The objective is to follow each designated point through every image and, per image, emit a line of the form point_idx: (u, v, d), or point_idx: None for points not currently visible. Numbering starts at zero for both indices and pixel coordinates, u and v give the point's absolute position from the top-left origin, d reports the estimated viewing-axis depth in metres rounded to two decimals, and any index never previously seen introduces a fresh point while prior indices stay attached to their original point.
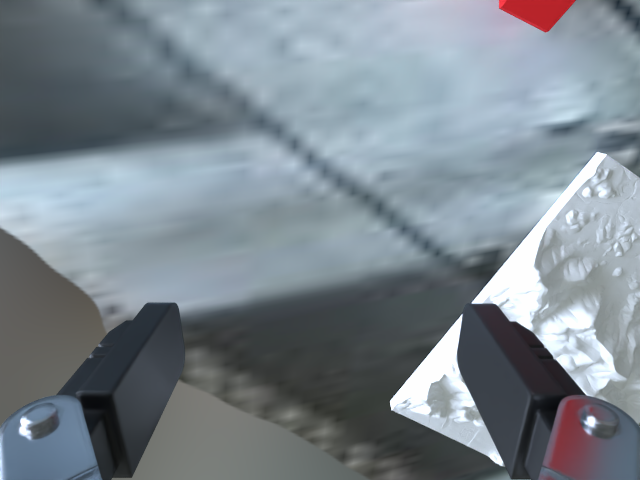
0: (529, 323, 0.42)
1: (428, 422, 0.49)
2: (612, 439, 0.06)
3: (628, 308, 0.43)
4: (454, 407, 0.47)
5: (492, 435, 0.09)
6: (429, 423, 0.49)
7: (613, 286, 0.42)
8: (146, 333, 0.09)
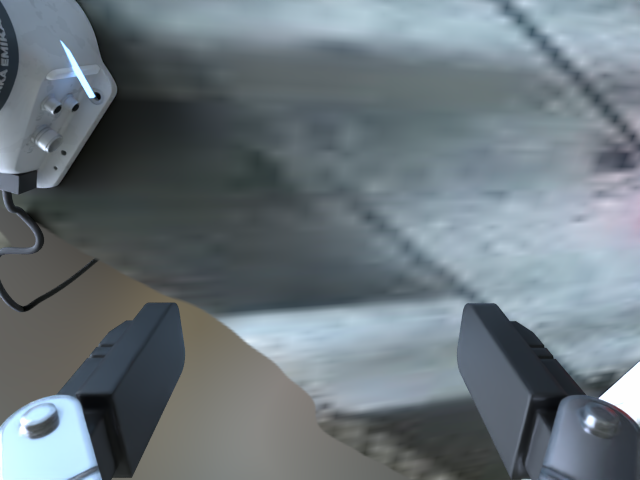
0: None
1: None
2: (612, 439, 0.06)
3: None
4: None
5: (492, 435, 0.09)
6: None
7: None
8: (146, 333, 0.09)
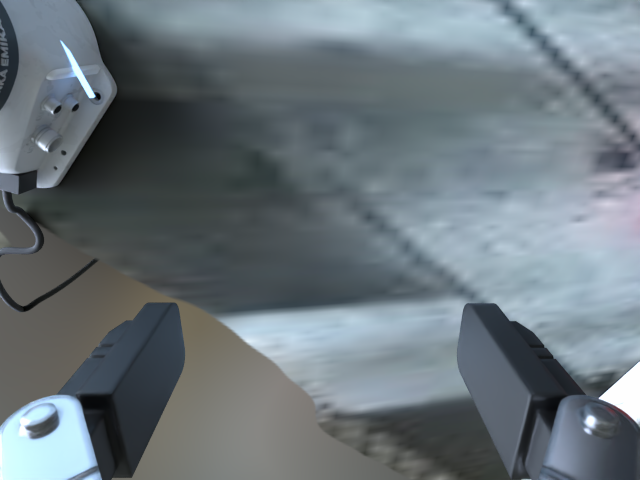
0: None
1: None
2: (612, 439, 0.06)
3: None
4: None
5: (492, 435, 0.09)
6: None
7: None
8: (146, 333, 0.09)
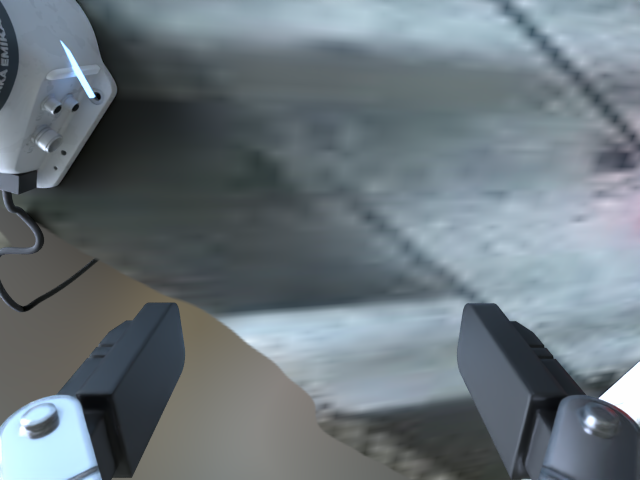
0: None
1: None
2: (612, 439, 0.06)
3: None
4: None
5: (492, 435, 0.09)
6: None
7: None
8: (146, 333, 0.09)
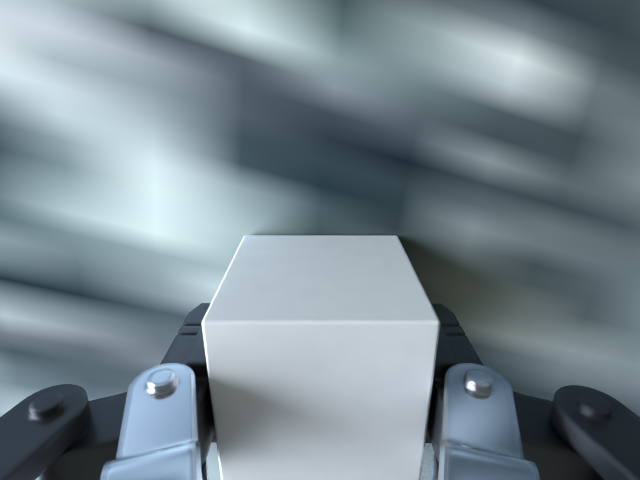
0: None
1: None
2: (483, 398, 0.07)
3: None
4: None
5: None
6: None
7: None
8: None
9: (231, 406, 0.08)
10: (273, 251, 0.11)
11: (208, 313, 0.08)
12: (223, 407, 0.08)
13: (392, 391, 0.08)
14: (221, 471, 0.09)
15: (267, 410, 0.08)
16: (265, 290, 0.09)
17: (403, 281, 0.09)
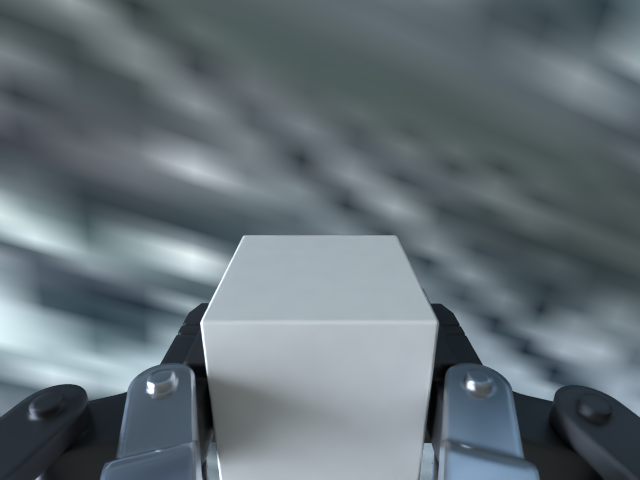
0: None
1: None
2: (483, 398, 0.07)
3: None
4: None
5: None
6: None
7: None
8: None
9: (231, 406, 0.08)
10: (273, 251, 0.11)
11: (207, 313, 0.08)
12: (222, 407, 0.08)
13: (391, 392, 0.08)
14: (220, 471, 0.09)
15: (266, 411, 0.08)
16: (264, 290, 0.09)
17: (402, 281, 0.09)
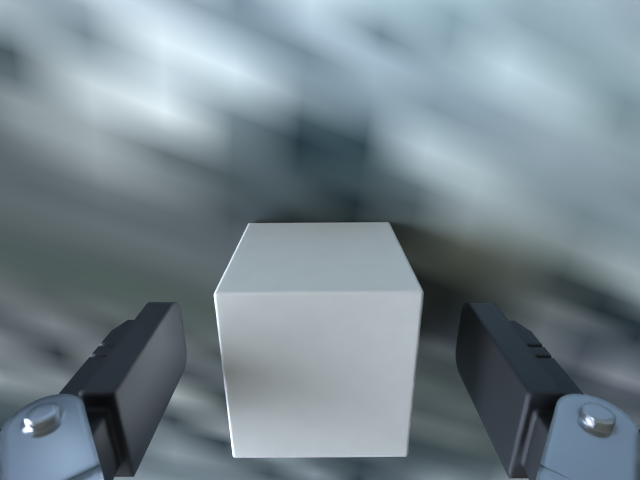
0: None
1: None
2: (609, 438, 0.06)
3: None
4: None
5: (491, 435, 0.09)
6: None
7: None
8: (148, 332, 0.09)
9: (240, 370, 0.09)
10: (275, 236, 0.12)
11: (219, 286, 0.09)
12: (233, 371, 0.09)
13: (383, 356, 0.09)
14: (231, 430, 0.10)
15: (272, 374, 0.09)
16: (269, 268, 0.10)
17: (392, 260, 0.10)
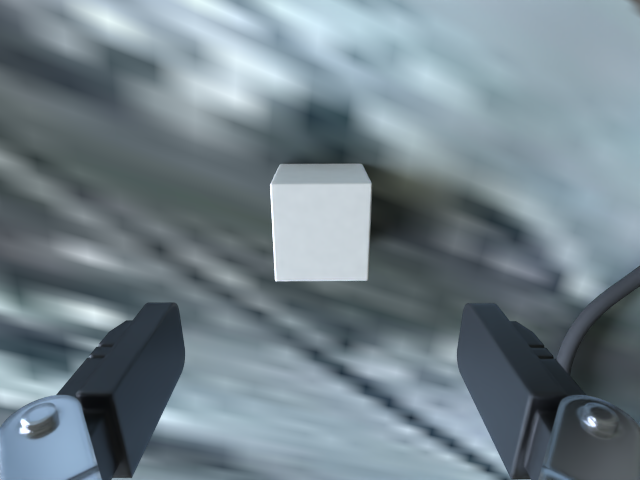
0: None
1: None
2: (612, 439, 0.06)
3: None
4: None
5: (492, 435, 0.09)
6: None
7: None
8: (146, 333, 0.09)
9: (281, 227, 0.18)
10: (297, 168, 0.21)
11: (272, 182, 0.18)
12: (278, 227, 0.18)
13: (353, 218, 0.18)
14: (275, 263, 0.19)
15: (297, 229, 0.18)
16: (295, 177, 0.19)
17: (359, 175, 0.19)
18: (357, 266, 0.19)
